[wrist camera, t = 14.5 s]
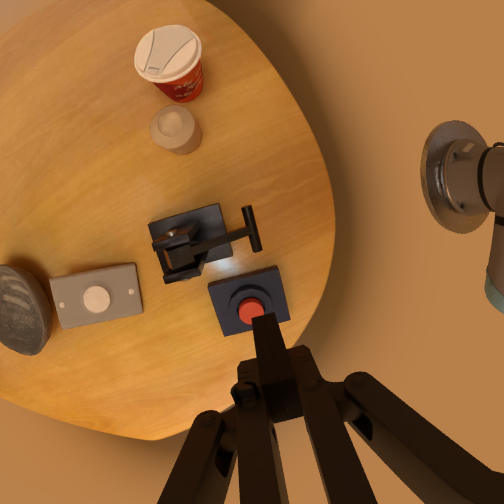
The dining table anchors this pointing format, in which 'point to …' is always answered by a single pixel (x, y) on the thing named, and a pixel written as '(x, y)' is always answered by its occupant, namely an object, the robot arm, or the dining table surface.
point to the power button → (250, 309)
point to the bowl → (23, 311)
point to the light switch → (96, 295)
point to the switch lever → (214, 242)
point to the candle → (175, 129)
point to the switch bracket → (189, 239)
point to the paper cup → (171, 61)
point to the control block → (248, 286)
